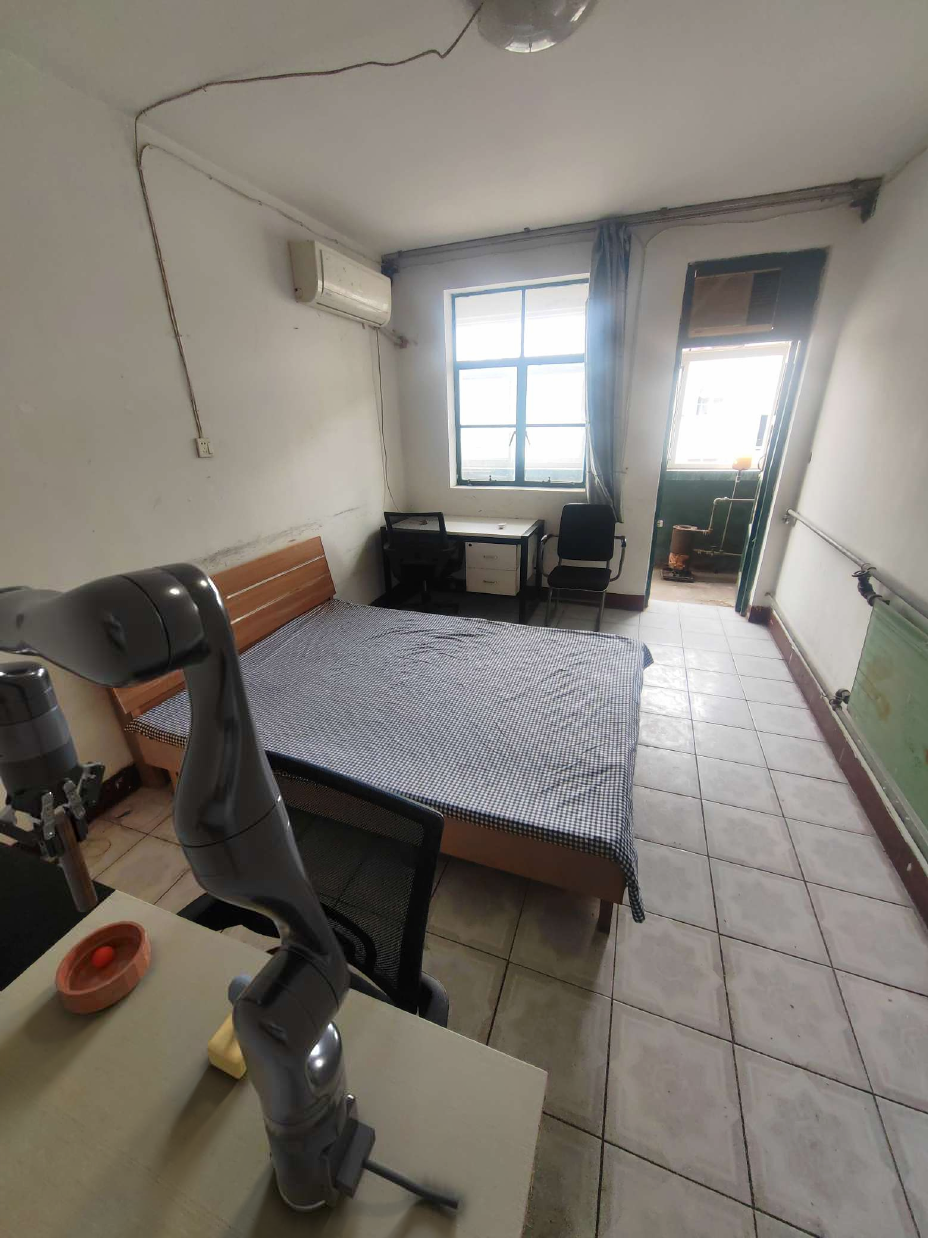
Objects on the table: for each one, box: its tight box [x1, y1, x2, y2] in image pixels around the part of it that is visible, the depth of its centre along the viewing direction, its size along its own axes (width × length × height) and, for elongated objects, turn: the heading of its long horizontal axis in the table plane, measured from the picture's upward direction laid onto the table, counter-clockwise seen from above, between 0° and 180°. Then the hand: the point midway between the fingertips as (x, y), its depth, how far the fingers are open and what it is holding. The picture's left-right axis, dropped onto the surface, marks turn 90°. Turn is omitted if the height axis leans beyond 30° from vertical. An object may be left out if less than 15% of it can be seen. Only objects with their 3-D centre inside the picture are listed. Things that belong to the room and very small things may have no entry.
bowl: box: [54, 920, 152, 1015], centre depth 78 cm, size 12×12×5 cm
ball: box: [92, 946, 114, 968], centre depth 80 cm, size 3×3×3 cm
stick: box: [54, 812, 99, 913], centre depth 67 cm, size 2×2×16 cm
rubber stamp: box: [206, 973, 254, 1080], centre depth 69 cm, size 10×6×12 cm, turn 160°
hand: (68, 846), depth 66 cm, fingers closed on stick, 2 cm apart
